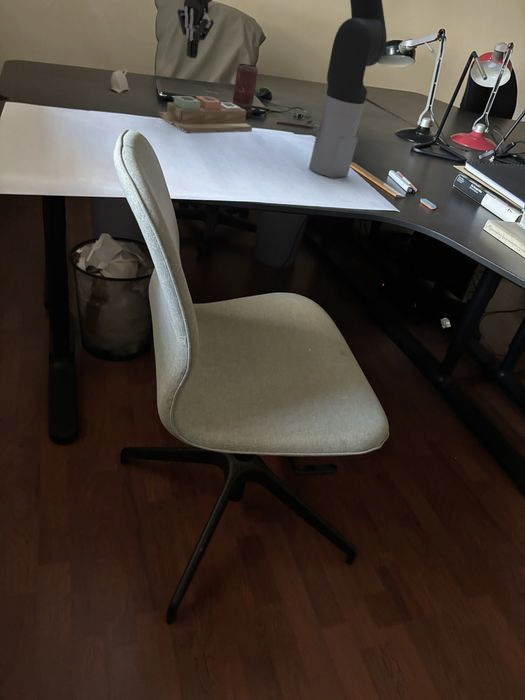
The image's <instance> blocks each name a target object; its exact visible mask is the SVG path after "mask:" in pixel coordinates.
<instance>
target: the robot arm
mask: <svg viewBox="0 0 525 700" xmlns="http://www.w3.org/2000/svg"><path fill="white" fill-rule="evenodd" d="M349 1H350V2H349V3H350V11H351V12H350V13H351V17H349V18H348V19H346V20H345V21H343V23H342V24H341V25H340V26H339V27H338V30H337V32H336V33H335V37H334V40H333V44H332V48H331V52H330V58H329V63H328V69H327V73H326V83H327V89H326V93H325V98H324V103H323V106H322V110H321V115H320V119H319V122H318V123H319V124H318V127H317V131H316V137H315V141H314V145H313V147H312V148H313V149H312V154H311V157H310V162H309V165H308V167H309V169H310V171H313V172H315V173H316V174H319V175H323V176H326V177H328V178H331V179H334V178H342V177H343V178H344V177H348V175H349V173H350V172H349V171H350V168H351V164H352V161H353V158H354V154H355V150H356V147H357V144H358V140H359V138H358V136H356V134H357V131H358V128H359V127H358V126H359V124H360V120H361V117H362V116H361V115H362V113H363V110H364V106H365V103H366V98H367V95H368V89H367V88H366V86H365V85H364V76H365V73H366V68H367V67H372V66H375V65H376V64H377V63H379V61H380V60H382V57H383V56H384V54H385V50H386V46H387V41H388V40H387V39H388V37H387V28H386V21H385V13H384V5H383V0H349ZM210 2H211V3H212V2H213V0H184V1H183V7H182V8H181V9H180V8H178V10H177V16H178V20H179V23H180V27H181V31H182V35H184V36H185V37H186V40H187V42H186V43H187V44H186V46H187V47H186V56H187V57H188V58H190V59H197V56H198V51H199V43H200V42H201V41H205V40H206V38H207V36H208V34H209V33H210V31H211V29H212V27H213V26H214V24H215V23H214V19H210V17H209V16H210V15H209V11H210V10H209V3H210Z"/></svg>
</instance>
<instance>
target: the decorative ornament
mask: <svg viewBox="0 0 525 700" xmlns="http://www.w3.org/2000/svg"><path fill="white" fill-rule="evenodd" d="M123 72H124V73H123ZM127 72H128V70H127V69H126V68H122V69H121V70H116V71H114V72H112V74H111V76H110V77H111V78H110V84H111V88H110V90H113V91H115V92H117V93H118V94H120V93H122V92H124V91H127V90H128V91H130V87H129V84H128V80H127V77H126V75H127Z"/></svg>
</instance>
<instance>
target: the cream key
mask: <svg viewBox="0 0 525 700" xmlns="http://www.w3.org/2000/svg"><path fill="white" fill-rule="evenodd" d="M221 102H222V103H221V108H223V109H225V110H240V109H241V108H240V107H238V106H236V105H234V104H232V102H230V101H229V102H223V101H221Z"/></svg>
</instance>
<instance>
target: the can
mask: <svg viewBox="0 0 525 700" xmlns="http://www.w3.org/2000/svg"><path fill="white" fill-rule="evenodd" d="M258 71H259V70H258V67H257V66H256V65H255V66H254V65H252V64H247V63H239V64H238V65H237V67H236V75H235V83H234V87H233V88H234V90H233V96H232V102H231V103H232V104H234V105H236V106H238V107H240V108H242V109H244V110H246V111H247V112H246V118H245V120H247V119H249V118H250V117H251V115H252V110H253V104H254V96H255V90H256V85H257V80H258V73H259V72H258Z"/></svg>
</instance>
